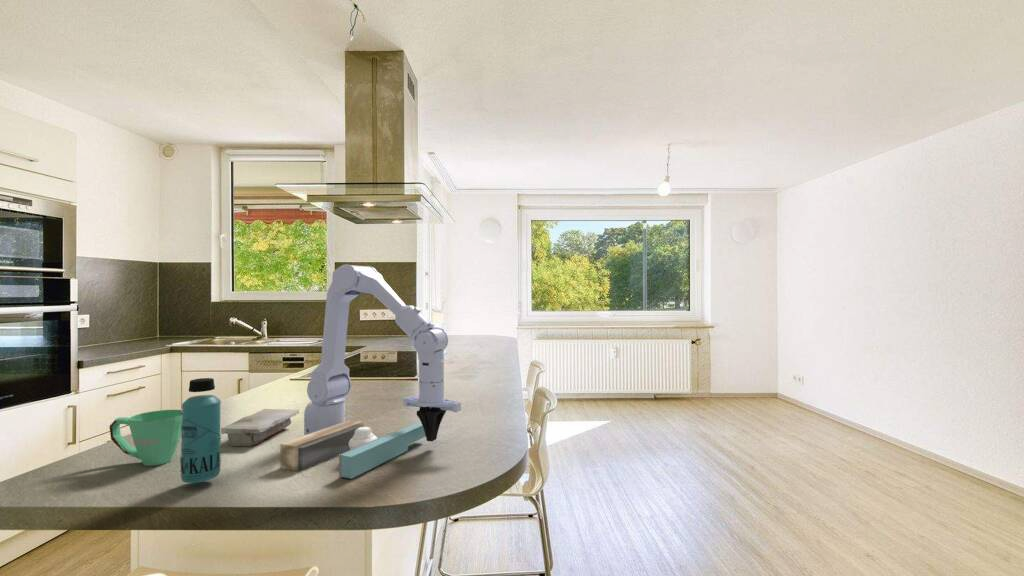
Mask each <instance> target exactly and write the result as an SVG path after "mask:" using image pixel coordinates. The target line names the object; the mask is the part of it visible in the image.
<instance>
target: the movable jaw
mask: <svg viewBox="0 0 1024 576" xmlns="http://www.w3.org/2000/svg"><path fill="white" fill-rule="evenodd" d="M377 438H378V439H375V440H373V441H370V442H368V443H366V444H363V445H361V446H359V447H356V448H354V449H352V450H349V451H347V452H344V453H342V454H340V455H338V462H339V463H338V476H339V477H342V478H346V479H355V478H357V477H358V476H360V475H362V474H364V473H366V472H368V471H370V470H372V469H374V468H376V467H378V466H379V465H382V464H384V463H386V462H387V461H390V460H392V459H394V458H395V457H398V456H400V455H402V454H404V453H406V452H408V451H409V445H411V444H413V443H415V442H417V441H420V440H422V439H423V438H426V435H425V431H424V428H423V425H422V423H421V422H416V423H413V424H411V425H408V426H405V427H404V428H402V429H399V430H394V431H392V432H390V433H387V434H385V435H382V436H380V437H377Z"/></svg>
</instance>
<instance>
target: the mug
mask: <svg viewBox="0 0 1024 576" xmlns="http://www.w3.org/2000/svg"><path fill="white" fill-rule="evenodd" d="M181 423H182V409H163V410H154V411H148V412H143V413H138V414H135V415H132V416H130V417H127V416H126V417H124V416H123V417H121V416H120V417H117V418H115V419H114V420H113V421H112V422H111V424H109V432H110V433H109V434H110V440H111V441H112V442H113V443H114V444H115V445H116V446H117V447H118V448H119V449H120V450H121V451H122V452H123V453H124V454H126V455H128V456H130V457H133V458H135V459H138V460H140V461H141V462H142V464H143V466H146V467H154V466H160V465H164V464H167V463H169V462H171V461H172V459H173V457H174V455H175V452H176V450H177V448H178V444H179V441H180V439H181V436H182V435H181V431H182V430H181V426H182V424H181ZM121 425H126V426H128V427H129V430H130V433H131V437H132V440H133V444H134V447H135V448H134V447H132V446H131V444H129V442H128V441H127V440H126V439H125V438H124V436H123V435H121V427H120V426H121Z"/></svg>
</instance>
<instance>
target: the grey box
mask: <svg viewBox="0 0 1024 576" xmlns="http://www.w3.org/2000/svg"><path fill="white" fill-rule="evenodd" d="M299 414H300V409H299V408H298V409H297V408H295V409H285V408H284V409H280V408H278V409H276V408H275V409H273V408H264V409H261V410H260V411H257V412H254V413H252V414H251V415H247V416H244V417H242V418H240V419H238V420H236V421H234V422H232V423H230V424H228V425H225V426H223V427H220V435H224V434H227V439H228V441H227V443H228V446H232V447H251V446H255V445H257V444H260V443H261V442H262V441H264V440H265V439H267V438H268V439H269V437H271V436H273V435H275V434H276V433H278V432H280V431H282V430H284V429H286V428H287V427H288V426H290V425H291V424H292V420H291V418H292V417H294V416H297V415H299Z"/></svg>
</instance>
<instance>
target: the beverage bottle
mask: <svg viewBox="0 0 1024 576" xmlns="http://www.w3.org/2000/svg"><path fill="white" fill-rule="evenodd" d="M215 387H216V386H215V380H214V378H211V377H204V378H203V377H202V378H201V377H200V378H196V379H191V380H190V381H189V387H188V392H189V393H201V392H202V393H203V392H208V391H213V390H215V389H216V388H215ZM221 403H222V401H221V399H220V398H218V396H216V395H214V394H200V395H199V394H198V395H195V396H190V397H188V398H187V399H186V400H184V402H183V403H182V404H181V411H182V423H181V424H182V426H181V430H182V431H181V436H180V438H181V441H180V442H181V444H180V453H181V454H180V459H179V463H180V464H179V465H180V471H179V472H180V473H179V474H180V478H181V481H182V482H183V483H186V484H193V483H194V484H195V483H202V482H207V481H210V480H212V479H214V478H217V477H218V476H219V475H220V472H221V461H222V460H221V457H222V455H221V454H222V450H221V449H222V448H221V445H222V442H221V440H222V434H221Z"/></svg>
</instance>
